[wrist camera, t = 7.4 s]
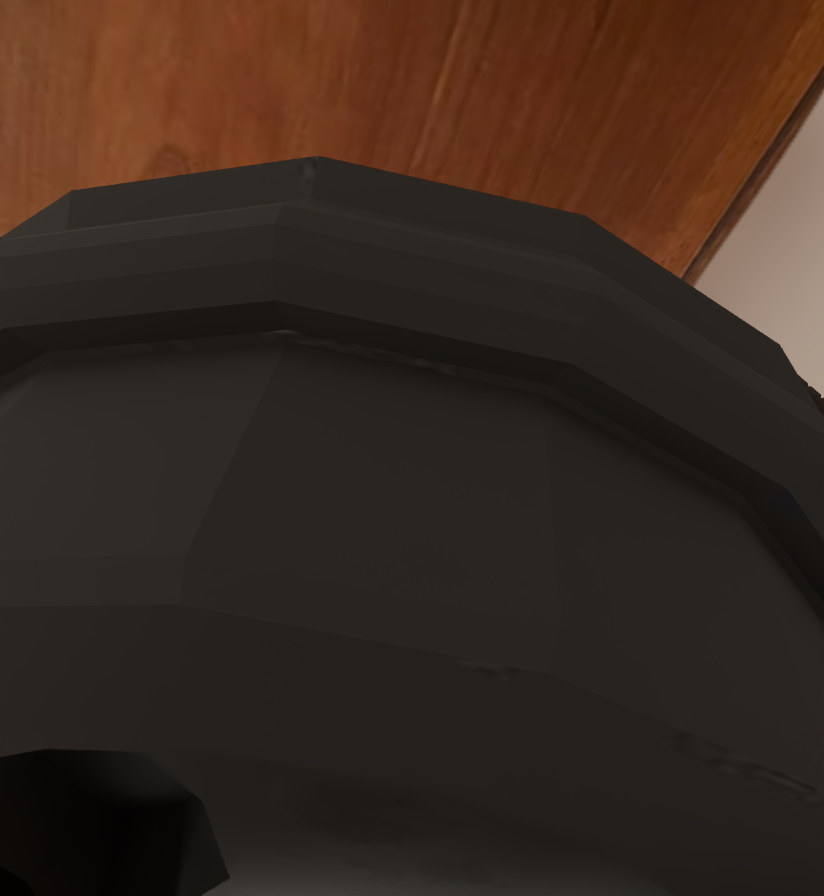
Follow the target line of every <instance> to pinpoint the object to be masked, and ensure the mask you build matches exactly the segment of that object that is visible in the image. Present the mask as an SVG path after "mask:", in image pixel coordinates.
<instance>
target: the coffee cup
mask: <svg viewBox="0 0 824 896" xmlns="http://www.w3.org/2000/svg"><path fill="white" fill-rule="evenodd" d="M0 866H1V867H2V868H4V869H6V870H7V871H9V872H11V873H13V874H14V875H16V876H18V877H19V878H21V879H23V880H24V881H26V882H28V884H29V886H30V888H31V890H32V891H33V893H34V895H35V896H824V416H823V415H822V414H821V413H820V411H819V409H818V408H817V406H816V404H815V403H814V401H813V399H812V398H811V396H810V394H809V393H808V391H807V389H806V388H805V386H804V384H803V383H802V381H801V379H800V378H799V376H798V374H797V373H796V371H795V369H794V368H793V366H792V364H791V363H790V361H789V359H788V358H787V356H786V354H785V353H784V351H783V349H782V348H781V346H780V345H779V344H778V343H776V342H775V341H773V340H772V339H770V338H769V337H767V336H766V335H764V334H763V333H761V332H760V331H758V330H757V329H755V328H754V327H752V326H751V325H749V324H748V323H746V322H745V321H743V320H742V319H740V318H739V317H737V316H736V315H734V314H733V313H731V312H730V311H728V310H727V309H725V308H724V307H722V306H721V305H719V304H717V303H716V302H715V301H713V300H712V299H710V298H708V297H707V296H706V295H704V294H702V293H701V292H699V291H698V290H696V289H695V288H693V287H692V286H690V285H689V284H687V283H686V282H684V281H683V280H681V279H680V278H678V277H677V276H675V275H674V274H672V273H671V272H669V271H668V270H666V269H665V268H663V267H662V266H660V265H659V264H657V263H656V262H654V261H653V260H651V259H650V258H648V257H647V256H645V255H644V254H642V253H641V252H639V251H638V250H636V249H635V248H633V247H632V246H630V245H629V244H627V243H626V242H624V241H622V240H621V239H619V238H618V237H616V236H615V235H613V234H612V233H610V232H609V231H607V230H606V229H604V228H603V227H601V226H600V225H598V224H597V223H595V222H594V221H592V220H591V219H589V218H588V217H586V216H585V215H580V214H576V213H571V212H567V211H563V210H558V209H554V208H549V207H545V206H540V205H536V204H531V203H527V202H522V201H518V200H513V199H509V198H505V197H500V196H496V195H491V194H487V193H482V192H478V191H473V190H469V189H464V188H460V187H455V186H451V185H447V184H442V183H438V182H433V181H429V180H424V179H420V178H415V177H411V176H406V175H402V174H397V173H393V172H388V171H384V170H380V169H375V168H371V167H366V166H362V165H357V164H353V163H348V162H344V161H339V160H335V159H330V158H326V157H322V156H313V157H306V158H299V159H292V160H285V161H278V162H271V163H264V164H257V165H250V166H243V167H236V168H228V169H221V170H214V171H207V172H200V173H193V174H186V175H179V176H172V177H165V178H158V179H151V180H144V181H137V182H130V183H123V184H115V185H108V186H101V187H94V188H87V189H80V190H73V191H70V192H69V193H67V194H66V195H64V196H63V197H61V198H60V199H58V200H57V201H55V202H54V203H52V204H51V205H49V206H48V207H46V208H45V209H43V210H42V211H40V212H39V213H37V214H35V215H34V216H32V217H31V218H29V219H28V220H26V221H25V222H23V223H22V224H20V225H19V226H17V227H16V228H14V229H13V230H11V231H10V232H8V233H7V234H5V235H4V236H2V237H1V238H0Z"/></svg>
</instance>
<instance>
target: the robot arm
mask: <svg viewBox="0 0 824 896" xmlns="http://www.w3.org/2000/svg"><path fill="white" fill-rule="evenodd" d="M798 376H799V375H798ZM799 378H800V379H801V381H802V383H803V384H804V386H805V388H806V389H807V391H808V393H809V394H810V396H811V398H812V399H813V401H814V403H815V404H816V406H817V408H818V409H819V411H820V413H821V414H822V415H823V416H824V398H821V394H819V393H818V392H817V391H816V390H815V389H814V388H812V387H811V386H810V387H808V383H807V382H806V381H804V380H803V379H802V378H801V377H800V376H799ZM0 896H35V895H34V893H33V891H32V890H31V888H30V886H29V884H28V882H26V881H24V880H23V879H21V878H19V877H18V876H16V875H14V874H13V873H11V872H9V871H7V870H6V869H4V868H2V867H1V866H0Z"/></svg>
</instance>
